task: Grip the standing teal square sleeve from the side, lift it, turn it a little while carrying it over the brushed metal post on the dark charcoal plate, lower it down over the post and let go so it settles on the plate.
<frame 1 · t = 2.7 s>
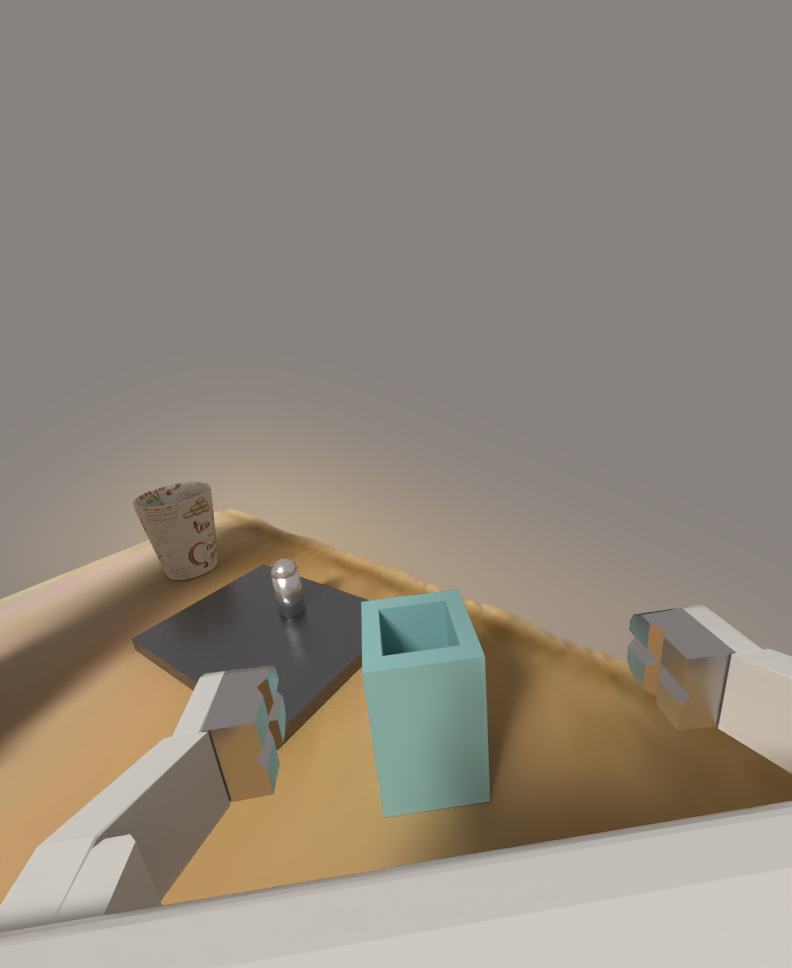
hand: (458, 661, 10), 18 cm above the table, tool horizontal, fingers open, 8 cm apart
mug: (183, 566, 56), on the table
plate: (269, 636, 40), on the table
sleeve: (429, 760, 27), on the table
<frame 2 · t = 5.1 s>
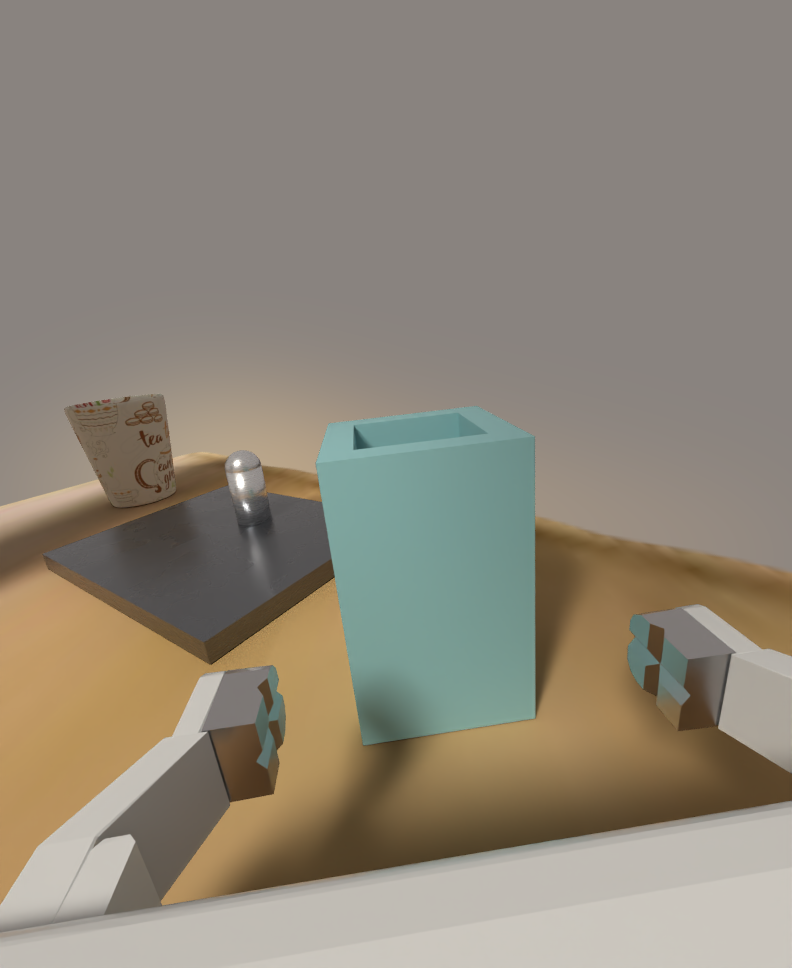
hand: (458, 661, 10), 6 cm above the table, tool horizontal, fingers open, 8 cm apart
mug: (134, 496, 46), on the table
plate: (223, 550, 31), on the table
sleeve: (434, 669, 18), on the table
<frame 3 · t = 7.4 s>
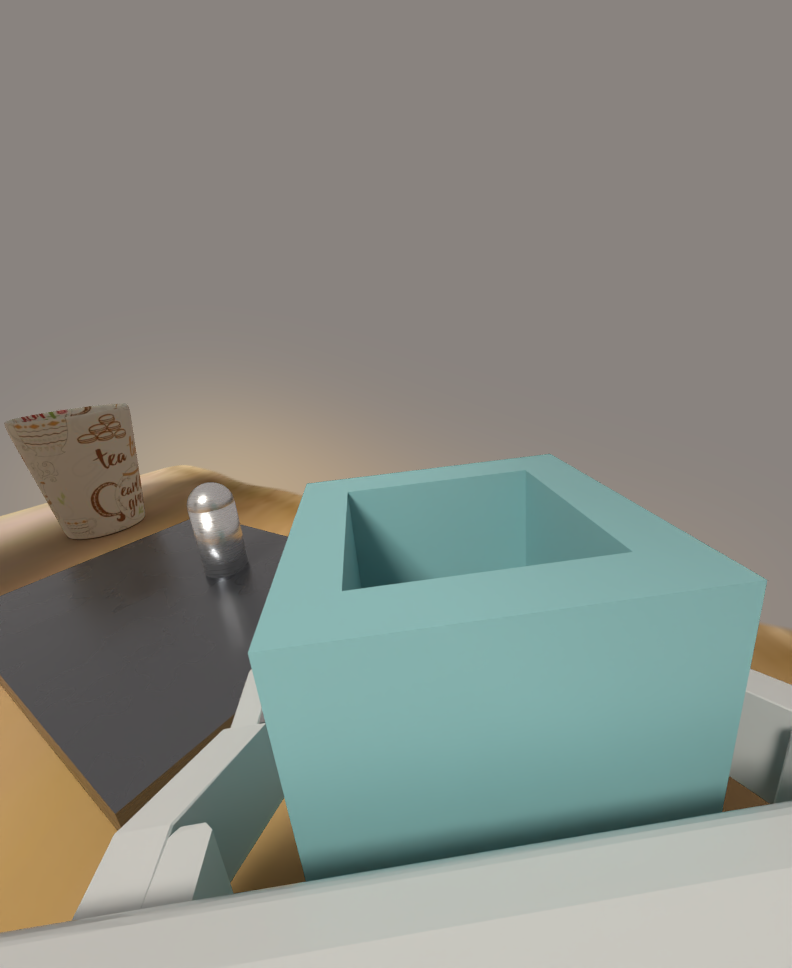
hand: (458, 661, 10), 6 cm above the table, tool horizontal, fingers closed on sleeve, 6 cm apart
mug: (97, 523, 40), on the table
plate: (184, 610, 24), on the table
sleeve: (479, 881, 11), on the table, touching gripper
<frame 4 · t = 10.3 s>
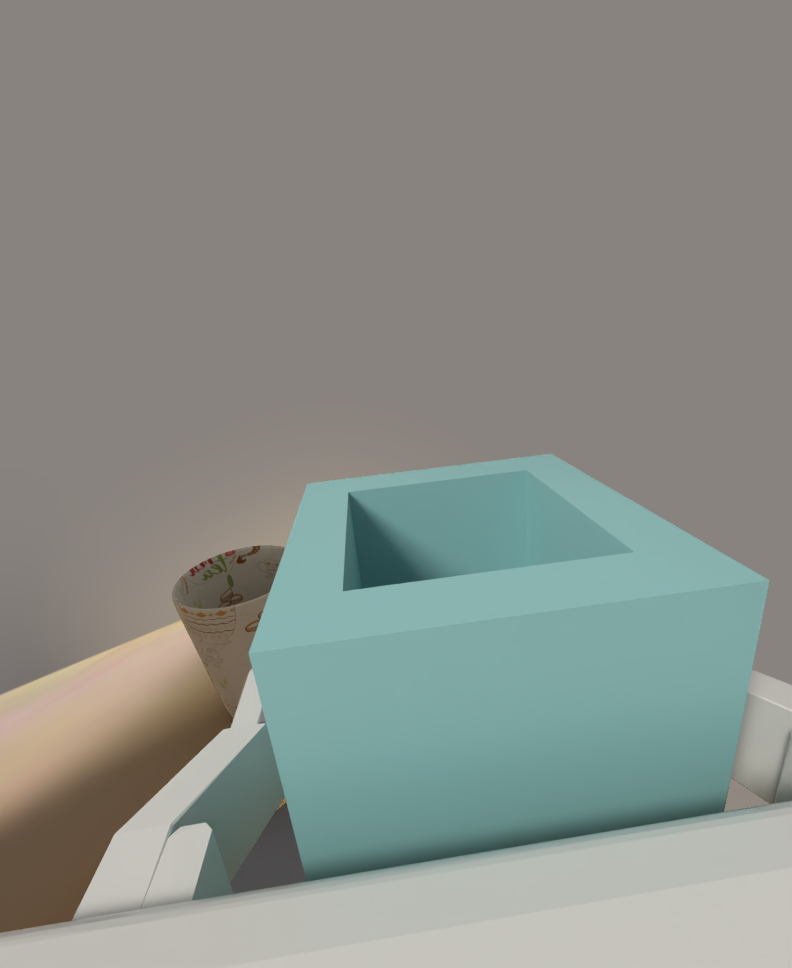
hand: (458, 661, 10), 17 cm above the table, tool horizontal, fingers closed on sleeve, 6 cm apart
mug: (256, 678, 34), on the table
sleeve: (480, 881, 11), point 11 cm above the table, touching gripper
when the fingers open (9 cm above the table, at t = 13.3 s): sleeve drops 2 cm, resting on plate.
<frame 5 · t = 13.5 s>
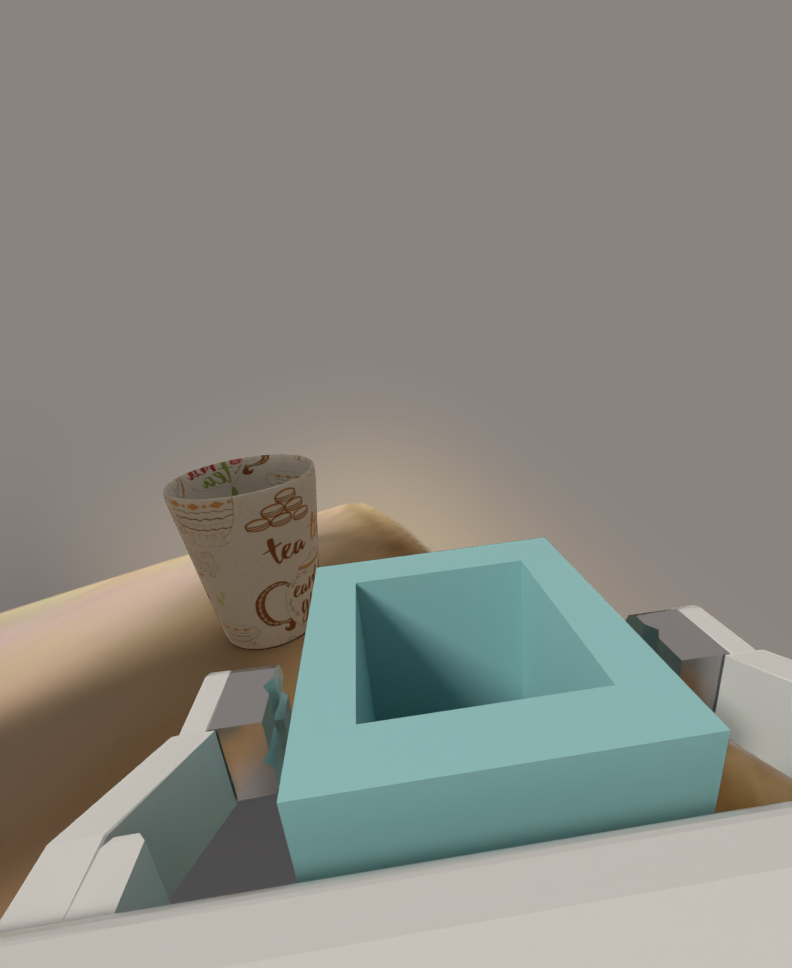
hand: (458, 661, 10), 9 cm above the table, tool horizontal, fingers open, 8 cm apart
mug: (262, 608, 30), on the table
sleeve: (478, 936, 12), point 1 cm above the table, touching plate
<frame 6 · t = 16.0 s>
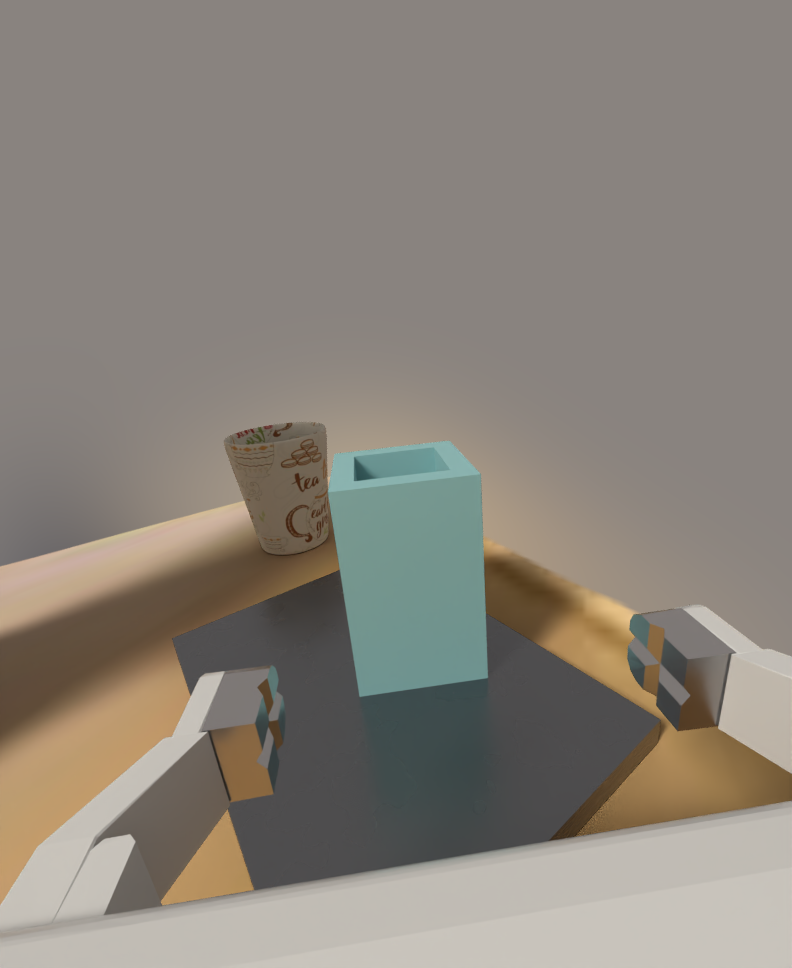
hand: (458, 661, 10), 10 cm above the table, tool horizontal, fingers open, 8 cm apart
mug: (286, 535, 41), on the table
plate: (372, 690, 22), on the table
sleeve: (415, 644, 23), point 1 cm above the table, touching plate
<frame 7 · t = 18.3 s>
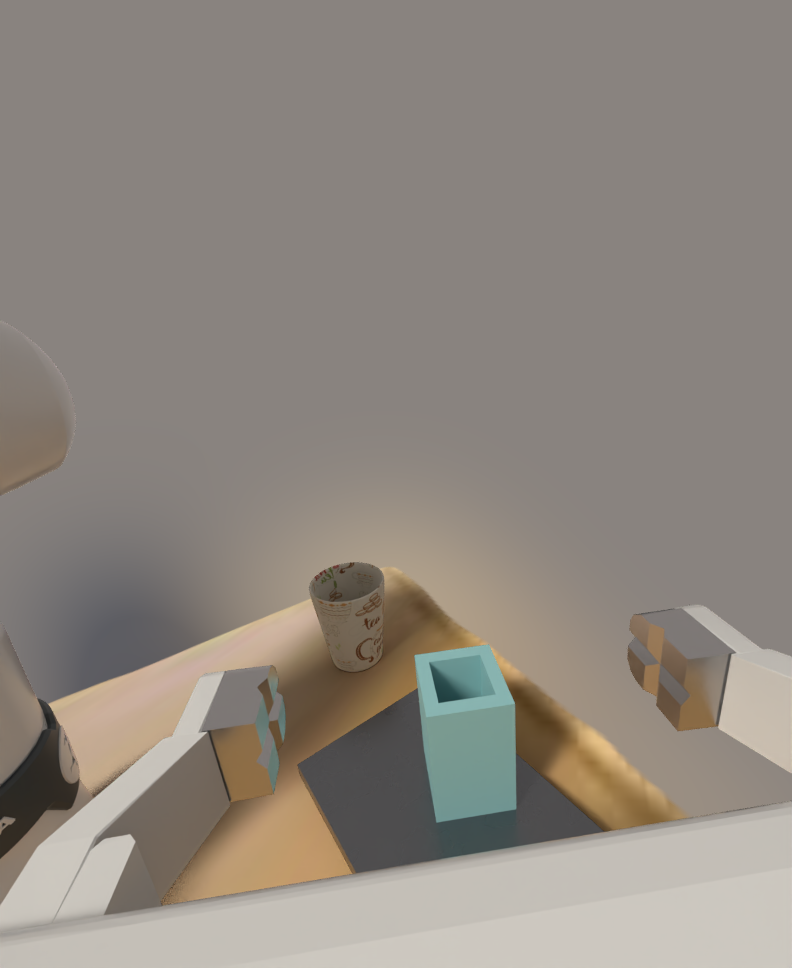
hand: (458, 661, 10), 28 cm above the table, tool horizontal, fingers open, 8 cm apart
mug: (348, 646, 53), on the table
plate: (440, 811, 34), on the table
sleeve: (466, 777, 35), point 1 cm above the table, touching plate
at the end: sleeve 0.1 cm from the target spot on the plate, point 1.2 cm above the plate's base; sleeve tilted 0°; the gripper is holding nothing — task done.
